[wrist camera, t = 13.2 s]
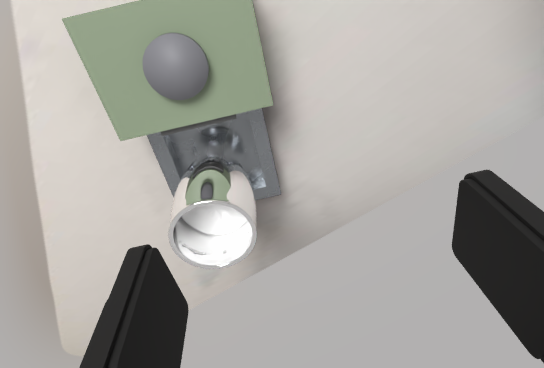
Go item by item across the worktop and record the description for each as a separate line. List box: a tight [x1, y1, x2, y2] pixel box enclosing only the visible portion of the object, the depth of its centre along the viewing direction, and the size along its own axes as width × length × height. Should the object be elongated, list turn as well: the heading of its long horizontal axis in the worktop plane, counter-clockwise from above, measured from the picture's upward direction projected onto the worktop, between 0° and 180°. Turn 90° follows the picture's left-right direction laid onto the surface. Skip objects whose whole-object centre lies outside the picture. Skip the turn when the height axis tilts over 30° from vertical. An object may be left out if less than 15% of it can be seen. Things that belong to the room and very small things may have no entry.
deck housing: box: [62, 0, 273, 141], centre depth 30 cm, size 14×11×8 cm
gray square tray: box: [147, 108, 281, 200], centre depth 37 cm, size 12×12×3 cm
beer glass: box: [168, 128, 257, 269], centre depth 31 cm, size 7×7×15 cm
